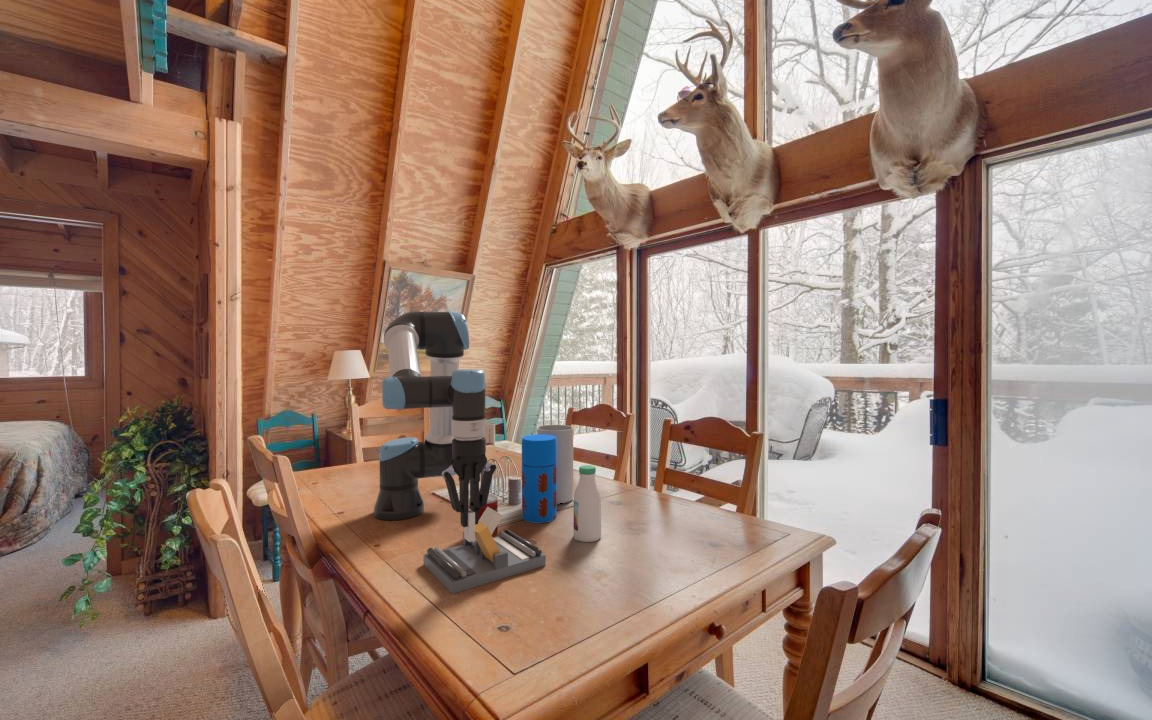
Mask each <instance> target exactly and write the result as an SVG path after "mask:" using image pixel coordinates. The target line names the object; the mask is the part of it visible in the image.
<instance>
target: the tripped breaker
mask: <svg viewBox="0 0 1152 720" xmlns="http://www.w3.org/2000/svg"><path fill="white" fill-rule="evenodd" d="M475 539H476V540H477V542H478V544H479V546H480V548H481V550H482V552H483V554H484V556H485V557H486V558H488V559H489V560H490V561H492V562H493V554H497V553H500V551H499V549H498V547H497V545H496V543H495V541H494V539H493V537H492V535H491V533H490V531H489V529H488V527H487V526H485V525H484V524H482V523H481V522H479V521H478V524H476V525H475Z"/></svg>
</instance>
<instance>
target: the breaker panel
mask: <svg viewBox="0 0 1152 720" xmlns="http://www.w3.org/2000/svg"><path fill="white" fill-rule="evenodd" d="M493 539H494V541H495V543H496V545H497V547H498V549H499V551H500V553H497V554H493V562H492V561H490V560H489V559H488V558H486V557H485V556H484V554H483V552H482V550H481V548H480V546H479V544H478V542H477V540H475V541H474V546H475V547H474V546H473V545H472V544H470V543H469V542H468V541H467V540H466V539H465V538H464V531H463V532H462V544H460V545H456V546H453V547H449V548H445V549H441V548H440V547H438V546H437V547H434V548H433V547H429V548H427V550H426V553H425V554H423V565H424V567H426V569H427V570H428V571H429V572H430V573H431V574H432V575H433V576H434V577H435V578H436V579H437V580H438V582H440V583H441V584H442V586H444V587H445V588H446V589H447V590H448V591H449V592H450V593H451V594H452V595H454V594H457V593H460V592H464V591H467V590H471V589H473V588H474V589H475V588H477V587H479V586H484V585H487V584H490V583H492V582H496V581H500V580H502V579H503V580H504V579H506V578H510V577H513V576H515V575H518V574H522V573H525V572H528V571H532V570H535V569H537V568H542V567H545V566H546V564H547V563H546V561H547V559H546V554H544V553H543V551H542V549H541V548H539V547H537V546H536V545H534V544H533V543H532V542H530V541H528V540H527V539H525V538H524V537H521V536H520V535H518V534H516V533H515V532H513V531H512V530H510V529H508V528H507V529H506V528H505V529H504V531H503V530H500V532H499V533H498V535H497V536H496V537H493Z"/></svg>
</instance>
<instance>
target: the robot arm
mask: <svg viewBox="0 0 1152 720" xmlns="http://www.w3.org/2000/svg"><path fill="white" fill-rule="evenodd" d="M383 344H384V346H385V347H384V348H386V350H387V352H388V371H389V376H388V377H385V378H383V379H382V381H381V396H382V397H381V398H382V401H381V402H382V404H381V405H382V407H383V408H384V409H385V410H407V409H408V410H411V409H425V408H427V409H428V408H429V431H428V432H427V433H426V434H425V435H424V441H419V439H418V438H417V437H414V436H412V437H400V438H395V439H392V440H389V441H387V442H384V443H383V444H381V446H380V447H379V452H378V453H379V455H378V457H379V458H378V462H379V491H378V495H377V497H376V501H375V504H374V507H373V516H374V518H377V519H379V520H383V521H399V520H405V519H410V518H414V517H417V516H419V515H421V514H423V513H424V511H425V503H424V499H423V497H422V494H421V491H420V489H419V480H420V479H427V478H429V479H430V478H438V477H442V478H443V479H444V480H445V485H446V488H447V489H446V490H447V493H448V496H449V500H450V505H451V508H452V510H453V511H455V512H456V513H460V526H461V527H463V529H464V530H463V532H464V538H465V539H466V540H467V541H468V542H471V541H475V525H476V524H478V512H480V510H481V509H480V508H482V507H485V506H486V504H487V499H488V495H489V494H490V490H491V484H492V480H493V475H494V473H495V472H496V470H497V465H496V464H494V463H491V462H489V461H488V458H487V456H486V452H487V443H486V442H487V441H486V438H485V435H486V428H487V427H486V422H487V421H486V387H487V383H486V374H485V371H484V370H482V369H477V368H475V369H472V368H471V369H470V368H469V369H465V368H463V369H459V363H460V360H461V359H462V358H463V357H464V354H465V353H464V351H466V350H469V349H470V334H469V328H468V323H467V319H466V317H465V315H464V314H463V313H461V312H454V311H409V312H405V313H403V314H400V315H399V316H397V317H395V318H394V319H393V320H392V321H391V322H390V323H389V324H388V325H387V327H386V329H385V330H384V334H383ZM419 350H421V351H423V350H424V351H425V356H426V357H427V358H428V359H429V360H430V375H428V376H422V371H421V365H420V359H419V353H418V351H419ZM482 472H483V473H482ZM481 474H482V478H481ZM454 476H457V477H458V482H459V486H458V487H459V488H458V489H459V491H457V487H456V486H457V485H456V482H455V479H454ZM480 482H481V483H480ZM458 492H459V494H458ZM469 498H470V508H471V509H469Z"/></svg>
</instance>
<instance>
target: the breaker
mask: <svg viewBox="0 0 1152 720" xmlns="http://www.w3.org/2000/svg"><path fill="white" fill-rule="evenodd" d="M503 517H504V515H503V514H501V513H500V512H496V511H494V510H493V509H491V508H489V507H487V508H486V510H485V511H484V513H483V515H482V516H481V518H480V519H479V522H481V523H482V524H484V525H485V526H487V527H488V529H489V531H490V533H491V535H492V533H493V532H494V530H495V528H496V527H497V525H499V524H500V522H501V520H502V518H503ZM475 540H476V539H475ZM469 543H470V544H472V545H473V546H474V541H471V542H469ZM474 547H475V546H474Z"/></svg>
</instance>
